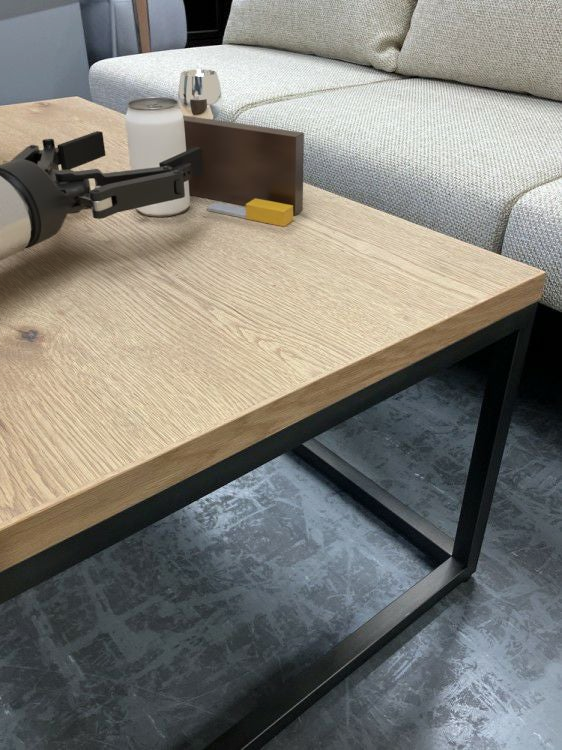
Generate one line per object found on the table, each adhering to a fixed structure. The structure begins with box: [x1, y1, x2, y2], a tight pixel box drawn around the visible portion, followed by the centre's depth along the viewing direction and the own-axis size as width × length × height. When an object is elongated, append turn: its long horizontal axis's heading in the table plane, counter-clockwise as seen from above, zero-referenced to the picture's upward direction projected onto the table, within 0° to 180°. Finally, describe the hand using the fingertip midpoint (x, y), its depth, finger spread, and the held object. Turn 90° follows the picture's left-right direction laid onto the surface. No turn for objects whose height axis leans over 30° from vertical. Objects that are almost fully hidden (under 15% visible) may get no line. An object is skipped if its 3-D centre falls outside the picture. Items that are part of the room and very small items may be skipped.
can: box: [124, 96, 191, 218], centre depth 80 cm, size 6×6×12 cm
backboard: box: [182, 114, 305, 216], centre depth 84 cm, size 22×2×9 cm, turn 61°
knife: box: [206, 198, 294, 227], centre depth 81 cm, size 10×2×2 cm, turn 61°
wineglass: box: [177, 68, 223, 120], centre depth 94 cm, size 6×6×12 cm
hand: (149, 151), depth 79 cm, fingers open, 13 cm apart
